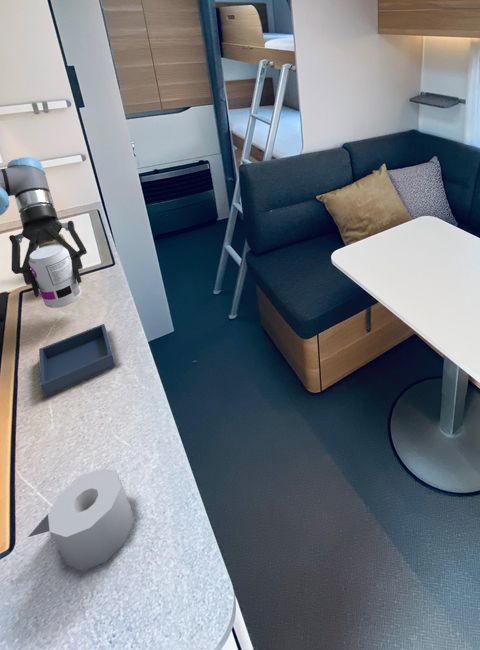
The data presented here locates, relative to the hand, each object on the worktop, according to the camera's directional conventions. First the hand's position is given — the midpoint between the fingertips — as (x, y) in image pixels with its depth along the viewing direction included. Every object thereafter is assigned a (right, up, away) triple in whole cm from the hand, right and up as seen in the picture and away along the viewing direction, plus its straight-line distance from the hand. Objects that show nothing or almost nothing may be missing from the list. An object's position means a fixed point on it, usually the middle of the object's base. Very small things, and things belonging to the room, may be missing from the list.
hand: (58, 287), depth 105 cm
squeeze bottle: (-21, -2, +29) cm, 36 cm away
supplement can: (-2, -4, +5) cm, 7 cm away
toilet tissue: (+36, -29, -40) cm, 61 cm away
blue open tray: (+11, -16, -7) cm, 21 cm away
